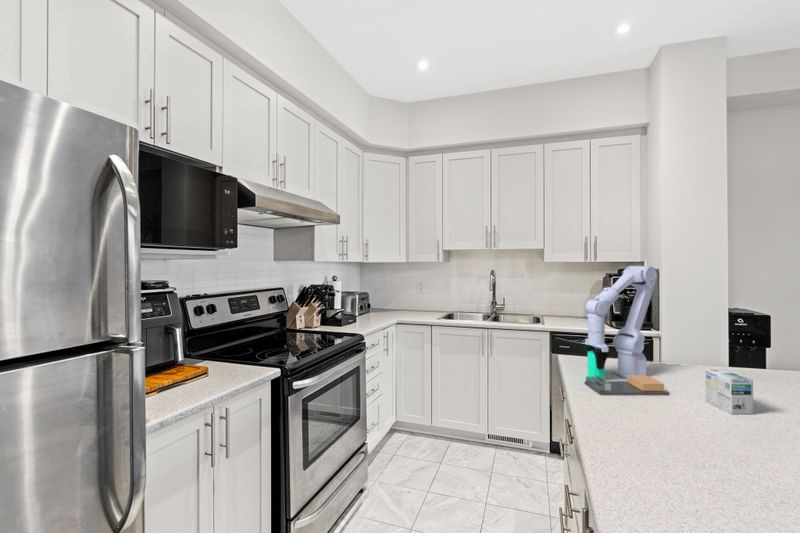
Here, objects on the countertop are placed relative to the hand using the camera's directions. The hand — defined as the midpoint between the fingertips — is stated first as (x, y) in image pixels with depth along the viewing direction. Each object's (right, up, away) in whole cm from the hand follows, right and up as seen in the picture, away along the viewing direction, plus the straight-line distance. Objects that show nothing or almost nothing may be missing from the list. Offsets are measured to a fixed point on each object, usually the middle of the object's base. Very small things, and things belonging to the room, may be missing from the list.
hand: (596, 366), depth 152 cm
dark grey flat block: (+4, -5, -12) cm, 14 cm away
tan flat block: (+11, -4, -12) cm, 17 cm away
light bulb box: (+26, -6, -29) cm, 40 cm away
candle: (0, -5, 0) cm, 5 cm away
